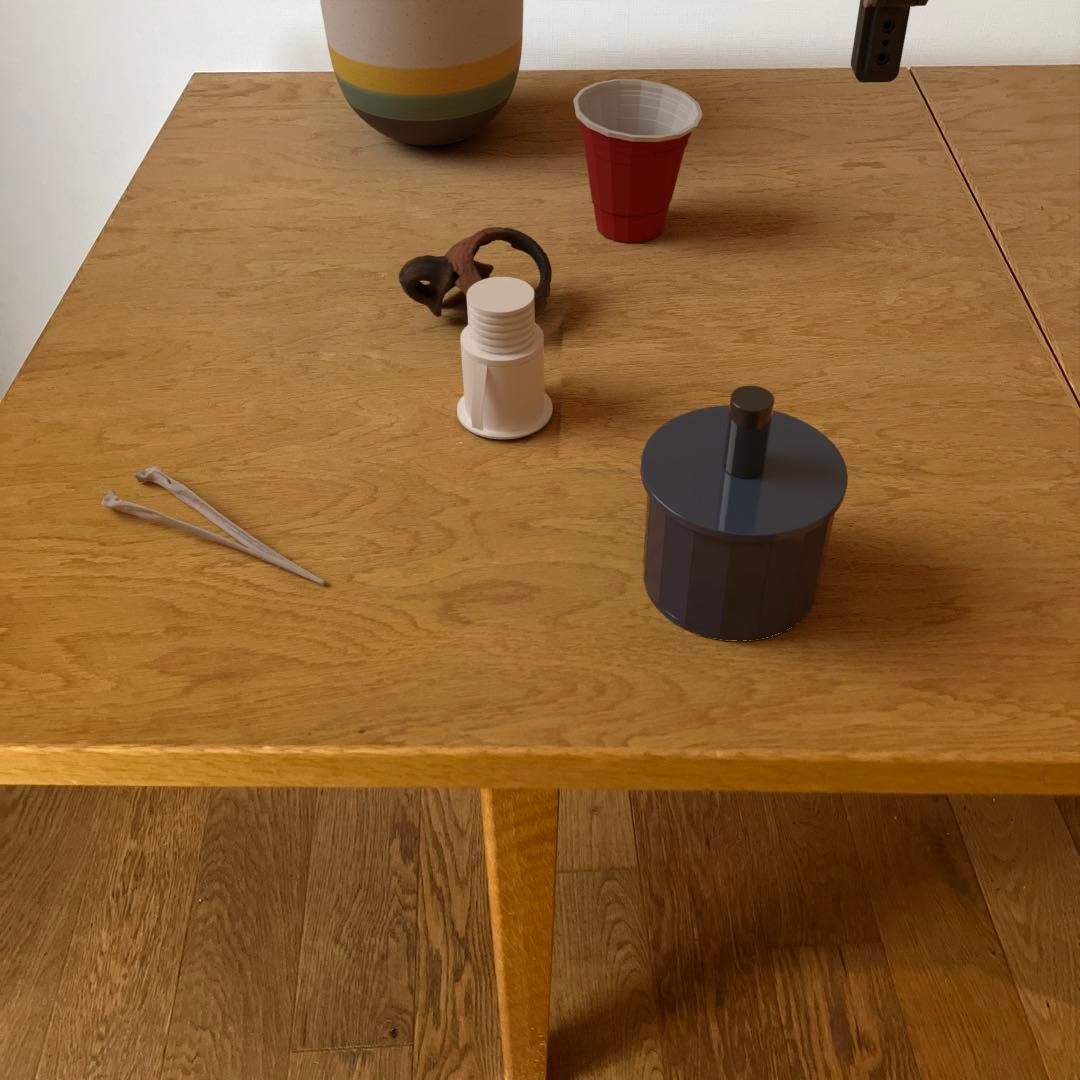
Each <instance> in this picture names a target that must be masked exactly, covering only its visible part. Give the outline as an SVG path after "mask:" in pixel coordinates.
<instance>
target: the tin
mask: <svg viewBox="0 0 1080 1080" xmlns="http://www.w3.org/2000/svg"><path fill="white" fill-rule="evenodd" d="M646 494H647V493H646ZM645 513H646V514H645V526H644V530H645V531H644V541H643V542H644V543H643V555H642V556H643V557H642V560H643V561H642V565H643V575H642V577H643V583H644V587H645V591H646V593H647V595H648V597H649V599H650V601H651V602H652V603H653V605H654V607H656V609H657V610H658V611H659V612H660V613H661V614H662V615H663V616H664V617H665V618H666V619H668V620H669V621H671V622H672V623H673V622H674V624H675V625H676V626H678V625H679V626H678V627H680V628H682V627H683V628H682V629H684V628H685V629H684V630H685V631H688V630H689V631H688V632H690V633H692V632H694V633H693V634H695V633H696V634H695V635H698V634H700V635H702V636H701V637H704V636H705V637H704V638H707V637H711V638H716V639H722V640H737V641H743V640H747V641H746V642H750V641H749V640H756V639H762V638H766V637H770V638H772V637H771V636H772V635H773V637H775V636H774V635H775V634H778V633H781V632H784V631H785V632H787V631H788V630H787V629H789V628H791V627H793V626H794V627H796V625H795V624H797V623H798V624H800V622H802V621H803V620H804V619H805V618H806V617H807V615H809V613H810V612H811V610H812V608H813V606H814V605H815V602H816V599H817V595H818V592H819V590H820V589H819V588H820V586H821V582H822V577H823V573H824V567H825V562H826V559H827V553H828V549H829V544H830V539H831V534H832V529H833V524H834V521H835V520H834V519H835V514H836V513H835V514H834V515H833V516H832V517H831V518H830V519H828V520H827V521H826V522H825V523H823V524H822V525H820V526H819V527H817V528H816V529H814V530H812V531H809V532H807V533H805V534H802V535H799V536H797V537H794V538H789V539H785V540H780V541H772V542H758V543H750V542H736V541H729V540H723V539H719V538H714V537H710V536H707V535H704V534H701V533H698V532H696V531H693V530H691V529H689V528H687V527H685V526H683V525H681V524H679V523H677V522H676V521H674V520H673V519H671V518H670V517H669V516H667V515H666V514H664V513H663V512H662V511H661V510H660V509H659V508H658V507H657V506H656V505H655V504H654V502H653V501H652V500H651V499H650V497H649V496H648V494H647V497H646V512H645ZM804 617H805V618H804ZM803 618H804V619H803ZM802 619H803V620H802ZM798 624H797V625H798ZM794 627H793V628H794ZM791 629H792V628H791ZM786 630H787V631H786ZM789 630H790V629H789ZM785 632H784V633H785ZM700 635H699V636H700ZM711 638H710V639H711ZM716 639H715V640H716ZM766 639H767V638H766ZM722 640H721V641H722ZM762 640H763V639H762ZM756 641H757V640H756Z"/></svg>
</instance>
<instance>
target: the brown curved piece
mask: <svg viewBox="0 0 1080 1080" xmlns="http://www.w3.org/2000/svg"><path fill="white" fill-rule="evenodd" d="M495 241H502V242H506V243H509V244H510V245H511V246H510V248H512V249H515V250H517V251H521V252H523V253H525V254H527V255H529V256H530V257H531V258H532V260H533V261H534V263H535V264H536V267H537V269H538V271H539V283H538V284H537V286H536V287H535V288H534V289H533V290H534V308H535V321H536V320H538V319H539V317H541V315H542V314H543V313H544V311H545V310H546V308H547V307H548V305H549V304H548V298H550V296H551V282H552V280H553V278H552V277H553V275H552V274H553V273H552V272H553V271H552V265H551V262H550V259H549V257H548V254H547V253H546V251H544V249H543V248H542V246H541V245H540V244H539V243H538V242H537V240H535V239H533V238H532V237H531V236H530V235H528V234H526V233H524V232H522V231H521V230H517V229H514V228H510V227H501V226H492V227H491V226H490V227H487V228H483V229H482V230H479V231H477V232H475V233H474V234H473V235H471V236H468V237H465V238H463V239H461V240H459V241H457V242H456V243H454V244H453V245H452V246H451V247H450V249H449V250H448V251H447V252H446V253H445V254H444V255H440V256H437V255H431V254H425V255H421V256H416V257H414V258H412V259H409V260H407V261H406V262H405V263H404V264H403V266H402V267H401V269H400V272H399V273H398V282H399V284H400V286H401V289H402V290H403V292H404V293H405V295H407V296H408V297H409V298H410V299H412V300H413V301H415V302H416V303H418V304H420V305H423V306H425V307H427V308H428V309H429V311H430V312H431V313H432V315H434V316H435V317H436V318H439V317H441V316H442V307H443V301H444V298H445V296H446V294H447V293H449V292H450V291H451V290H452V289H453V288H455V287H457V288H458V289H459V290H460V291H461V292H462V293H463V294H464V296H465V297H467V291H468V289H469V288H470V287H471V286H472V285H473V284H475V283H476V282H478V281H481V280H484V279H487V278H490V276H491V274H492V273H493V271H494V269H495V267H494V265H493V264H490V263H484V262H482V261H481V262H480V261H478V260H475V256H476V255H477V254H478V252H479V251H480V248H481V247H484V246H485V247H486V246H487V245H489V244H491V243H493V242H495ZM423 282H429V283H426V284H425V283H423Z"/></svg>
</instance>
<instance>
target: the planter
mask: <svg viewBox="0 0 1080 1080" xmlns="http://www.w3.org/2000/svg"><path fill="white" fill-rule="evenodd" d="M319 3H320V9H321V15H322V20H323V26H324V32H325V37H326V43H327V49H328V52H329V57H330V62H331V66H332V69H333V72H334V75H335V78H336V81H337V84H338V86H339V88H340V90H341V93H342V94H343V97H344V98H345V100H346V102H347V103H348V104H349V106H350V107H351V109H352V110H353V112H354V113H355V114H356V115H357V116H358V117H359V118H361V120H363V122H365V123H366V124H367V125H368V126H370V127H371V128H372V129H374V130H376V131H377V132H378V133H380V134H382V135H384V136H385V137H387V138H389V139H392V140H394V141H397V142H400V143H402V144H403V143H404V144H408V145H413V146H425V147H432V146H444V145H449V144H454V143H457V142H460V141H462V140H465V139H468V138H469V137H472V136H474V135H476V134H477V133H478V132H480V131H481V130H482V129H484V128H485V127H486V126H488V125H489V124H490V123H491V122H492V121H493V120H494V119H495V118H496V117H497V116H498V115H499V114H500V113H501V112H502V111H503V109H504V108H505V106H506V105H507V104H508V102H509V100H510V98H511V96H512V94H513V91H514V89H515V86H516V83H517V79H518V75H519V71H520V66H521V60H522V52H523V41H524V39H523V38H524V37H523V35H524V0H319Z"/></svg>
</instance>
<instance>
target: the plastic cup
mask: <svg viewBox="0 0 1080 1080" xmlns="http://www.w3.org/2000/svg"><path fill="white" fill-rule="evenodd" d="M572 101H573V107H574V112H575V118H577V119H578V122H579V127H580V132H581V138H582V142H583V146H584V151H585V153H584V154H585V160H586V167H587V175H588V176H587V177H588V183H589V190H590V197H591V202H592V204H593V212H594V218H595V226H596V229H597V231H598V233H599V234H600V235H601V236H603V237H604V238H605V239H608V240H610V241H612V242H615V243H622V244H642V243H645V242H649V241H653V240H654V239H655V238H657V237H658V236H660V235H661V234H662V232H663V230H664V229H665V225H666V221H667V217H668V212H669V208H670V204H671V202H672V200H673V197H674V193H675V189H676V186H677V182H678V177H679V173H680V170H681V165H682V162H683V159H684V155H685V150H686V148H687V146H688V144H689V140H690V137H692V133H693V132H694V131H695V130H696V129H697V127H698V125H699V123H700V121H701V120H702V117H703V115H704V114H703V111H702V109H701V105H700V103H699V102H698V101H697V100H695V98H693V97H692V96H690V95H689V94H688V93H687V92H685V91H683V90H680V89H678V88H676V87H674V86H671V85H668V84H666V83H661V82H656V81H650V80H646V79H636V78H635V79H632V78H615V79H610V80H609V79H608V80H603V81H597V82H595V83H592V84H590V85H588V86H586V87H584V88H582V89H580V90H579V91H578V93H577V94H576V95H575V97H573V99H572Z"/></svg>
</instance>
